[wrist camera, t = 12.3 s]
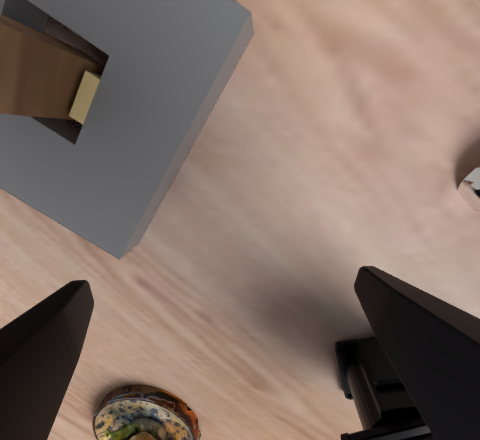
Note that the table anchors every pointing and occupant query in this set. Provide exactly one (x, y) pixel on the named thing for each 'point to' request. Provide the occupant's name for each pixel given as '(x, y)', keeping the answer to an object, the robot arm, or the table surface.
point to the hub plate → (122, 111)
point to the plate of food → (144, 416)
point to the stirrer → (471, 189)
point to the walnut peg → (39, 72)
